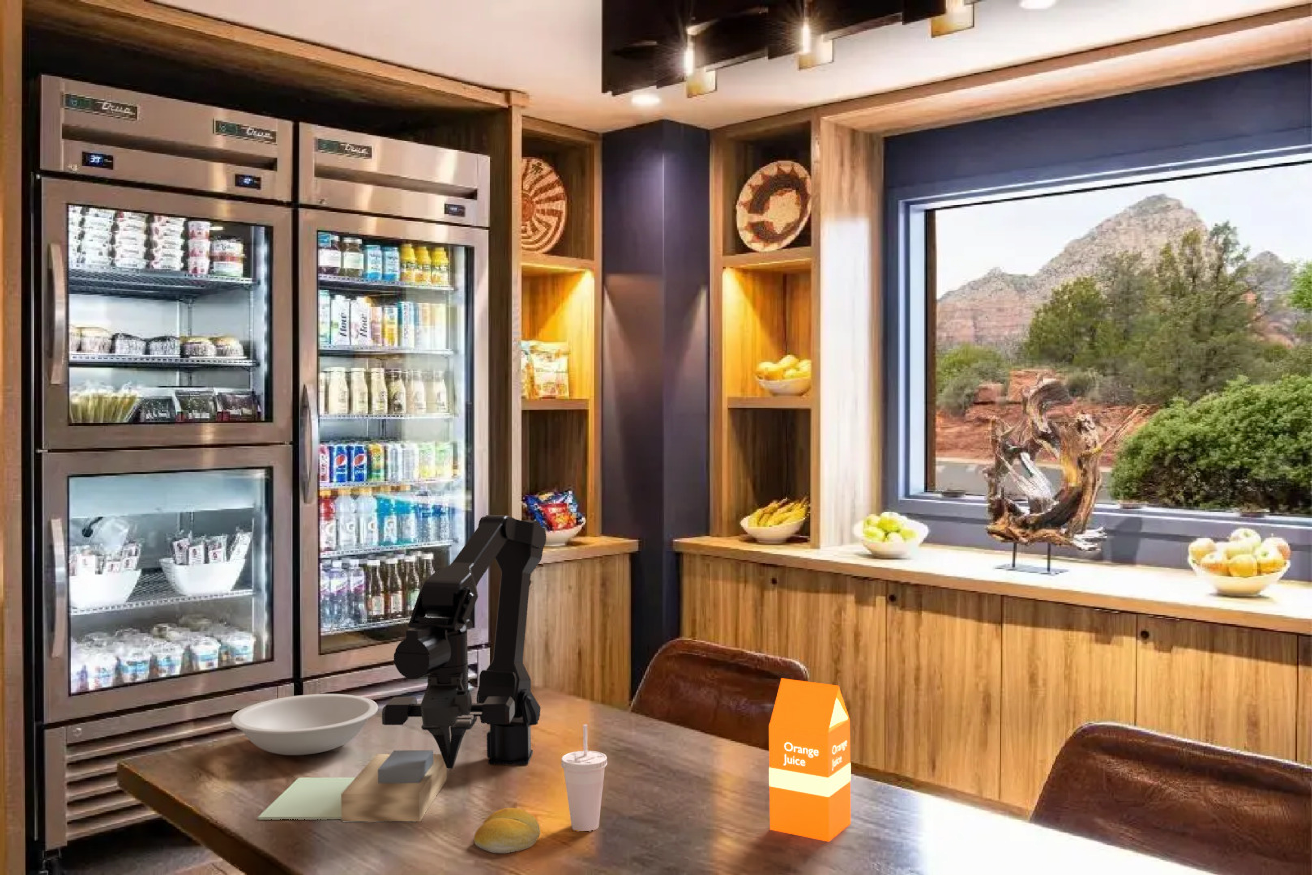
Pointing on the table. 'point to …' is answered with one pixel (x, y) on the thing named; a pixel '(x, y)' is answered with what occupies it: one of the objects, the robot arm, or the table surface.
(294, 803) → the mat
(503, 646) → the robot arm
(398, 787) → the wooden block
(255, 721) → the soup bowl
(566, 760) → the smoothie
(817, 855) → the table surface
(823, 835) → the orange juice
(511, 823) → the bread roll
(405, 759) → the grey bevelled block
